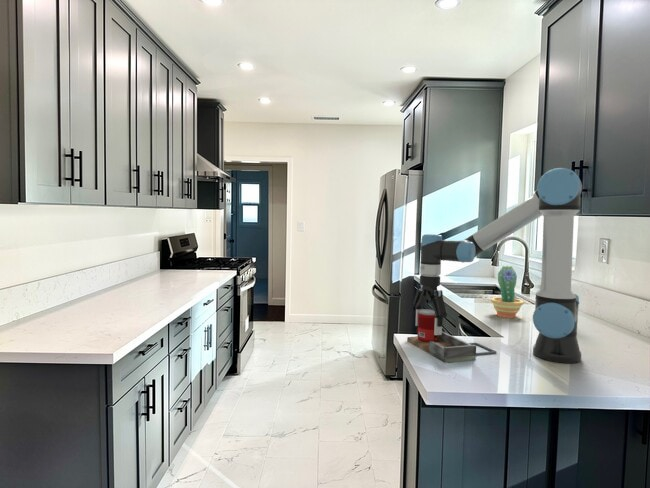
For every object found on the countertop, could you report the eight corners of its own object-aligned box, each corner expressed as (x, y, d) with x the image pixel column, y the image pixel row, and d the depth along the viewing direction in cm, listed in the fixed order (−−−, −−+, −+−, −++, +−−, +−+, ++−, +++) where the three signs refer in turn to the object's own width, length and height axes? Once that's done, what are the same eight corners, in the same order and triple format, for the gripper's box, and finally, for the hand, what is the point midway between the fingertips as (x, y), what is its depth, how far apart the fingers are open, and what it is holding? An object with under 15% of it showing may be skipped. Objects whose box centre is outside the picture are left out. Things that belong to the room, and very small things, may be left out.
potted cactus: (484, 314, 218) (486, 265, 216) (499, 310, 228) (501, 263, 226) (513, 320, 206) (516, 268, 205) (528, 316, 216) (531, 266, 215)
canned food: (439, 343, 161) (440, 314, 160) (417, 341, 163) (418, 312, 162) (438, 337, 169) (439, 309, 168) (417, 336, 170) (418, 308, 170)
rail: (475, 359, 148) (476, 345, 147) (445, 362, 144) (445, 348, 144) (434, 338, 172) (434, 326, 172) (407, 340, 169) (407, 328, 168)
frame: (497, 353, 155) (497, 351, 155) (472, 355, 152) (473, 354, 152) (476, 343, 167) (476, 342, 167) (453, 345, 164) (453, 344, 163)
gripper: (405, 271, 175) (403, 322, 176) (439, 280, 151) (437, 339, 153) (421, 270, 177) (420, 321, 179) (458, 279, 153) (455, 338, 155)
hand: (428, 330), depth 166 cm, fingers open, 13 cm apart
